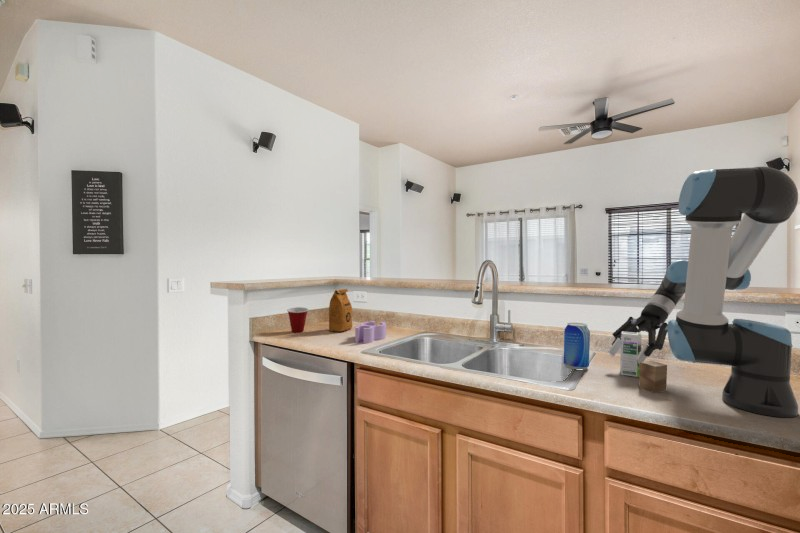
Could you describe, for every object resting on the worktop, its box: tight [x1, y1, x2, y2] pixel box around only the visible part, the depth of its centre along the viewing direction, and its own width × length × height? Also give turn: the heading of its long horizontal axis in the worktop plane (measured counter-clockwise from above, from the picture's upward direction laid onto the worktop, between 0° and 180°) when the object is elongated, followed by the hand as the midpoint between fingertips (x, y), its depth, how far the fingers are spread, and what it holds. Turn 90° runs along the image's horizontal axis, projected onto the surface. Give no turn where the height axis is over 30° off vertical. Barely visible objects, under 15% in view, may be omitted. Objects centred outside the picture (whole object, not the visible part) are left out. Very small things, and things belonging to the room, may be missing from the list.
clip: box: [354, 320, 387, 344], centre depth 181 cm, size 20×12×7 cm, turn 157°
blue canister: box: [563, 322, 591, 371], centre depth 137 cm, size 8×8×16 cm
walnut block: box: [638, 360, 668, 394], centre depth 116 cm, size 5×5×8 cm
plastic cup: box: [286, 306, 309, 334], centre depth 195 cm, size 11×11×12 cm
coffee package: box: [328, 288, 353, 333], centre depth 199 cm, size 10×12×22 cm
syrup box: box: [619, 331, 642, 378], centre depth 130 cm, size 6×6×14 cm
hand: (624, 357), depth 129 cm, fingers open, 10 cm apart
